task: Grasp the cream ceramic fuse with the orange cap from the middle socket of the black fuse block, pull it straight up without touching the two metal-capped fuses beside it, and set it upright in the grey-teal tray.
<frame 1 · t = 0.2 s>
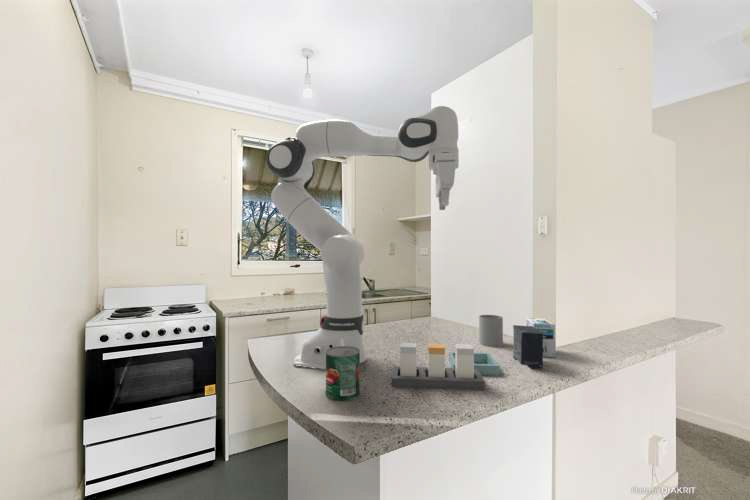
hand: (443, 207, 104), 47 cm above the table, fingers open, 8 cm apart
canned tomato: (342, 399, 79), on the table
tray: (472, 370, 98), on the table
small box: (527, 363, 105), on the table
cup: (490, 344, 127), on the table
light bulb box: (540, 353, 116), on the table
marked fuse: (436, 381, 87), point 1 cm above the table, touching fuse block
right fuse: (464, 382, 86), point 1 cm above the table, touching fuse block
fuse block: (436, 385, 87), on the table
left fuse: (408, 380, 88), point 1 cm above the table, touching fuse block
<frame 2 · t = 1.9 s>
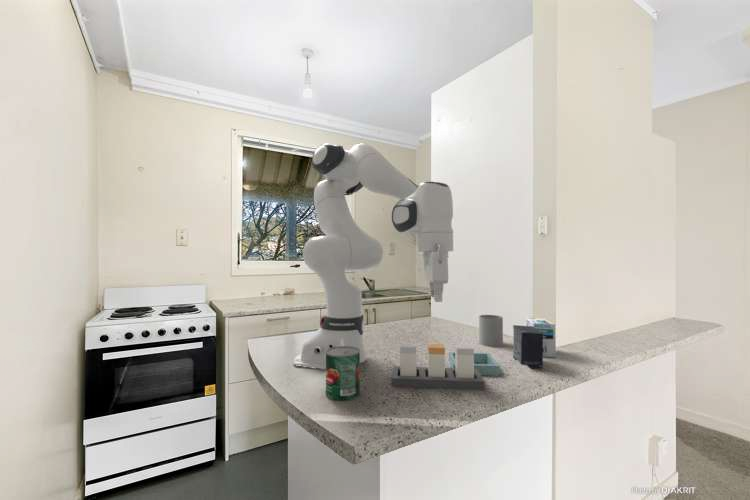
hand: (436, 299, 87), 22 cm above the table, fingers open, 8 cm apart
nothing on the table moved.
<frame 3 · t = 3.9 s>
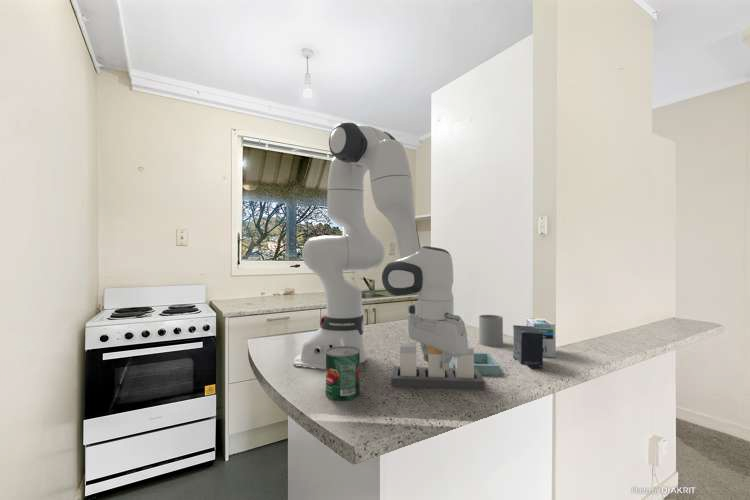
hand: (435, 365, 87), 5 cm above the table, fingers closed on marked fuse, 5 cm apart
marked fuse: (436, 381, 87), point 1 cm above the table, touching fuse block, gripper
everything else where it was.
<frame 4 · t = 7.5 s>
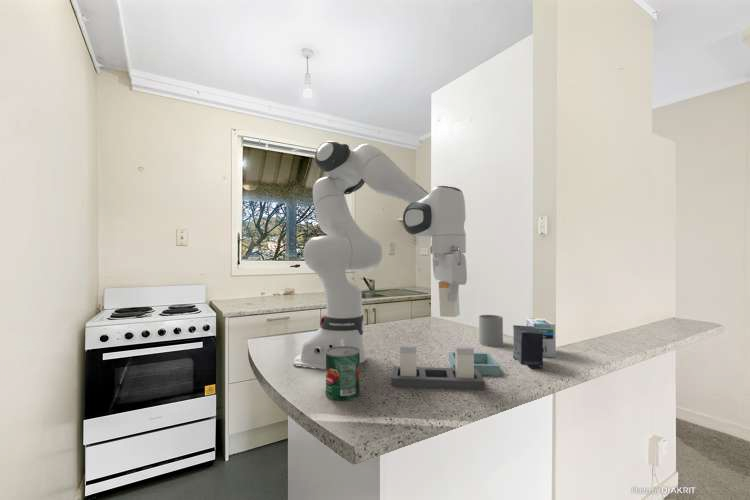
hand: (449, 299, 90), 21 cm above the table, fingers closed on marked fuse, 5 cm apart
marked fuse: (450, 315, 90), point 17 cm above the table, touching gripper
everything else where it was.
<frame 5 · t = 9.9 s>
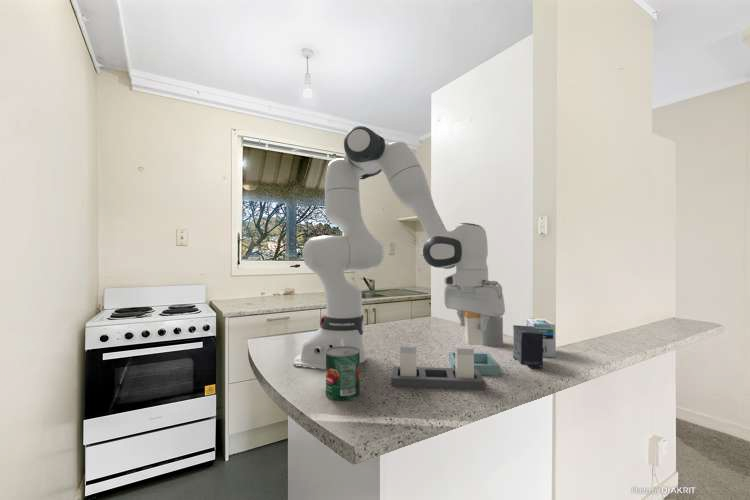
hand: (472, 328, 98), 12 cm above the table, fingers closed on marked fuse, 5 cm apart
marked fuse: (473, 343, 98), point 8 cm above the table, touching gripper
everything else where it was.
when the fingers open (6 cm above the table, at t = 11.5 s): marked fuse drops 1 cm, resting on tray.
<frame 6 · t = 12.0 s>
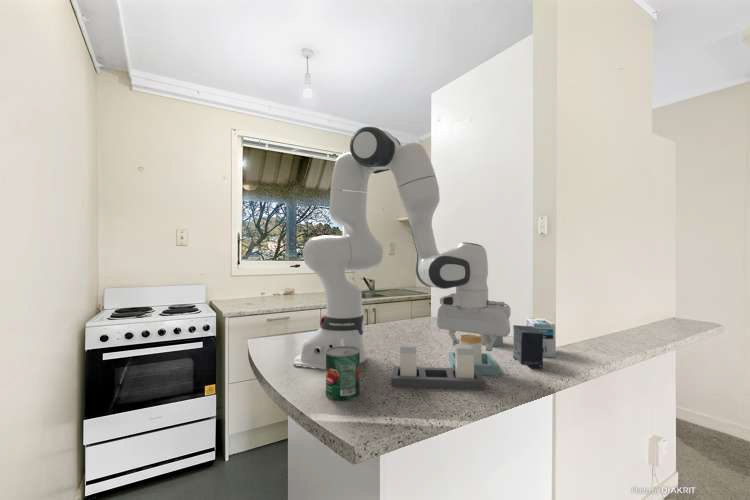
hand: (472, 348, 98), 6 cm above the table, fingers open, 8 cm apart
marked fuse: (471, 367, 98), point 1 cm above the table, touching tray
everything else where it was.
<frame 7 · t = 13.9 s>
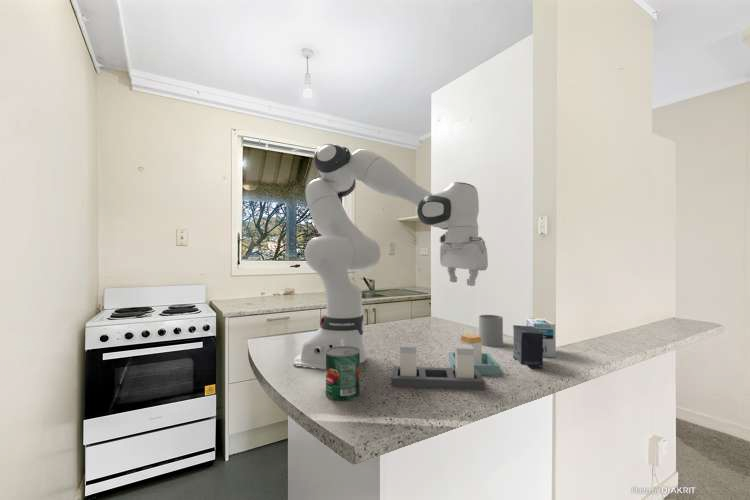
hand: (461, 283, 102), 24 cm above the table, fingers open, 8 cm apart
nothing on the table moved.
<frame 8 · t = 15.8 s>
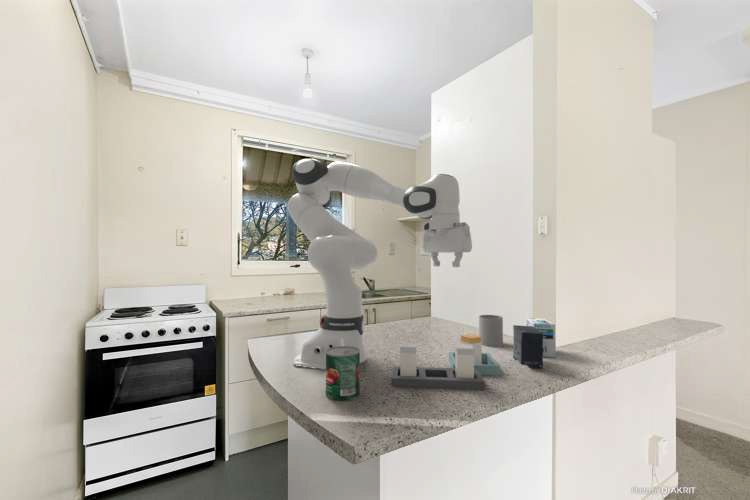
hand: (446, 266, 112), 29 cm above the table, fingers open, 8 cm apart
nothing on the table moved.
at the end: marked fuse 0.4 cm off-centre on the tray, point 0.8 cm above the tray's base; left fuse moved 0.0 cm from its start; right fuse moved 0.0 cm from its start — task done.
